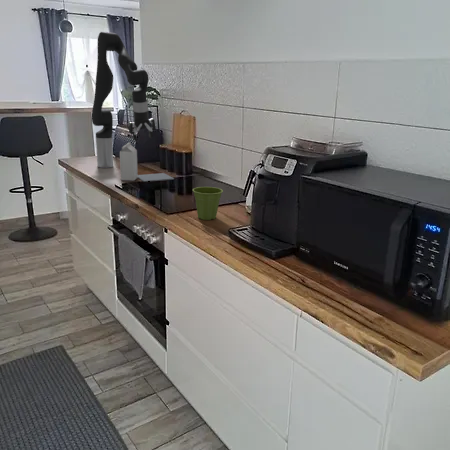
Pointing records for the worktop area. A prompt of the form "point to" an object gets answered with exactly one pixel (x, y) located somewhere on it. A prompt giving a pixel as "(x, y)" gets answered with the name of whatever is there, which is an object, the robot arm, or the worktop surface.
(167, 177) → the mat
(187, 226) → the worktop surface
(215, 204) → the plant pot
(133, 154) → the milk carton
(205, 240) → the worktop surface
